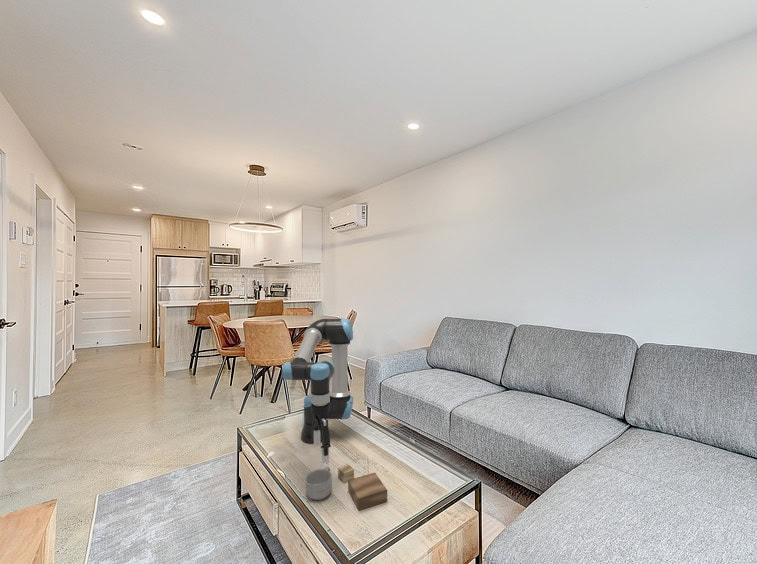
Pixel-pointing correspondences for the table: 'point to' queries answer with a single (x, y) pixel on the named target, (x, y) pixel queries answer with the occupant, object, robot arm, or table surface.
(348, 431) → the table surface
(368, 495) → the pedestal block
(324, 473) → the teacup
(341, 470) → the oak cube
